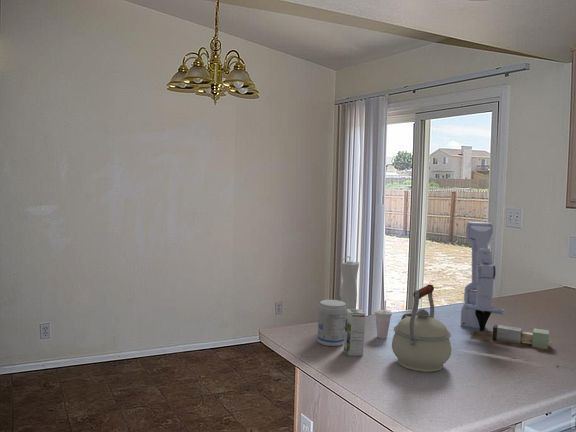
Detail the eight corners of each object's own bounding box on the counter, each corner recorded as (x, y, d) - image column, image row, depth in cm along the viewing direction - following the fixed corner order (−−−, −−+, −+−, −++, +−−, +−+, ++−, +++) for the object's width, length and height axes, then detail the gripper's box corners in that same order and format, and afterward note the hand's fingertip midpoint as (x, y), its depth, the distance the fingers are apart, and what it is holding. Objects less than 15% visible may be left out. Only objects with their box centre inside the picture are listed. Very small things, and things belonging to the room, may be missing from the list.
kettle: (439, 381, 146) (444, 297, 144) (380, 367, 155) (384, 288, 154) (460, 358, 167) (464, 284, 165) (406, 347, 176) (410, 277, 175)
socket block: (532, 346, 180) (533, 331, 179) (533, 342, 185) (533, 328, 185) (547, 349, 177) (548, 334, 177) (548, 345, 182) (549, 330, 182)
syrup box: (343, 350, 171) (344, 308, 170) (360, 350, 171) (361, 308, 171) (346, 356, 165) (348, 312, 164) (363, 356, 166) (365, 313, 165)
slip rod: (492, 338, 187) (493, 327, 187) (493, 335, 191) (494, 324, 190) (540, 346, 179) (541, 334, 179) (541, 343, 183) (542, 331, 183)
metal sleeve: (496, 340, 186) (497, 327, 186) (497, 337, 190) (498, 324, 190) (520, 344, 182) (520, 331, 182) (521, 341, 186) (521, 328, 186)
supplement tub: (313, 339, 182) (315, 299, 181) (337, 338, 185) (339, 298, 184) (324, 348, 173) (325, 306, 172) (348, 346, 176) (350, 304, 175)
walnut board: (469, 341, 187) (469, 338, 187) (474, 333, 198) (474, 331, 198) (550, 354, 174) (550, 352, 174) (551, 346, 185) (551, 343, 185)
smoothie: (390, 340, 184) (392, 303, 184) (373, 338, 186) (374, 301, 185) (390, 335, 191) (392, 299, 190) (373, 333, 192) (375, 298, 191)
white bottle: (335, 322, 206) (338, 255, 205) (355, 323, 206) (358, 256, 204) (337, 328, 198) (340, 258, 196) (357, 329, 197) (360, 259, 196)
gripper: (462, 294, 190) (460, 329, 191) (503, 299, 183) (501, 336, 184) (465, 291, 196) (463, 325, 197) (505, 296, 189) (503, 331, 190)
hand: (482, 330), depth 191 cm, fingers closed
